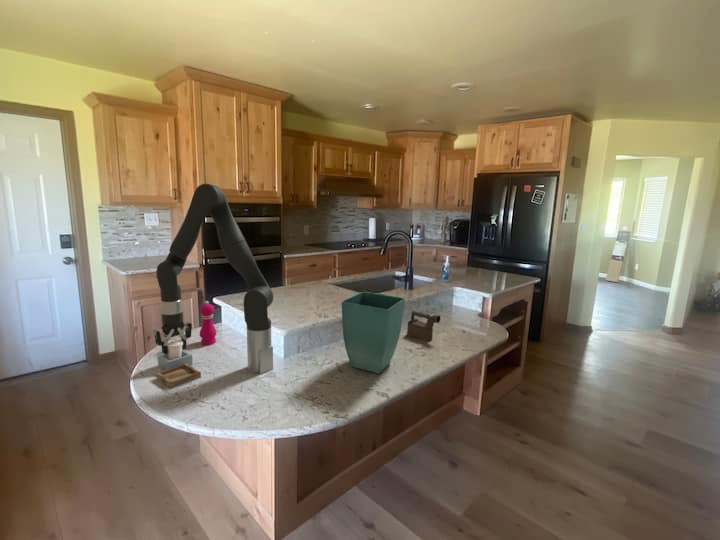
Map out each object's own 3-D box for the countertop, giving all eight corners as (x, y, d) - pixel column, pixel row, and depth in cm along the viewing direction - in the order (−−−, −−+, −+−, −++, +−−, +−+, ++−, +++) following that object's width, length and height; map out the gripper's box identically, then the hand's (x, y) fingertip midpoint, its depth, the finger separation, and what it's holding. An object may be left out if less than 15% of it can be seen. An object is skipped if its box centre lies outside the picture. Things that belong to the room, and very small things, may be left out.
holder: (192, 365, 150) (192, 354, 149) (169, 373, 143) (168, 362, 142) (181, 358, 155) (180, 348, 154) (158, 365, 148) (157, 355, 147)
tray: (201, 377, 140) (200, 372, 140) (171, 388, 132) (171, 383, 131) (186, 368, 147) (185, 363, 146) (157, 378, 138) (156, 373, 138)
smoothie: (172, 370, 145) (170, 336, 142) (163, 366, 148) (160, 332, 145) (187, 364, 150) (185, 331, 147) (178, 360, 153) (176, 328, 150)
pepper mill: (213, 346, 169) (211, 303, 165) (197, 345, 169) (195, 302, 165) (219, 340, 176) (217, 299, 172) (204, 339, 176) (202, 298, 172)
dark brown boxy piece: (431, 343, 181) (434, 317, 178) (405, 334, 192) (407, 309, 189) (440, 339, 187) (443, 314, 184) (415, 330, 198) (416, 306, 195)
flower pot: (360, 351, 169) (362, 290, 164) (401, 360, 161) (405, 297, 155) (338, 368, 152) (340, 301, 146) (384, 380, 143) (387, 309, 138)
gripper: (157, 317, 137) (160, 359, 140) (195, 308, 148) (197, 348, 151) (148, 312, 141) (151, 354, 145) (185, 305, 152) (187, 343, 156)
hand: (174, 351), depth 148 cm, fingers closed on smoothie, 6 cm apart
